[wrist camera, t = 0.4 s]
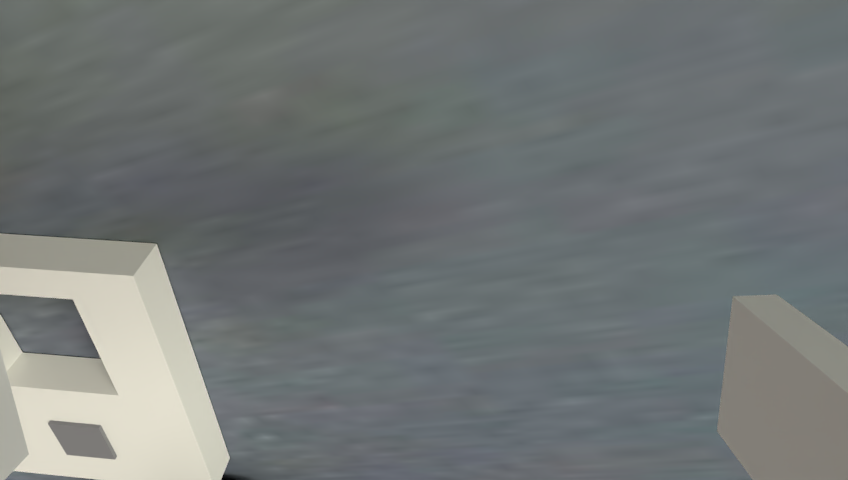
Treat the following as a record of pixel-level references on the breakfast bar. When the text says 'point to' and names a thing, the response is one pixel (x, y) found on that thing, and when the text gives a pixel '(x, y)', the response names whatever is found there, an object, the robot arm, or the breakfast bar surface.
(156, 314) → the white base plate
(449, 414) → the breakfast bar surface
